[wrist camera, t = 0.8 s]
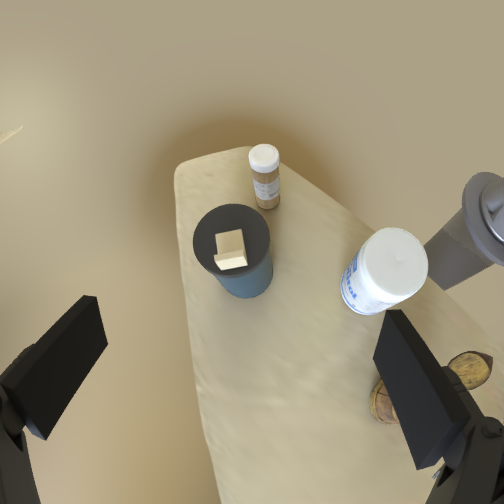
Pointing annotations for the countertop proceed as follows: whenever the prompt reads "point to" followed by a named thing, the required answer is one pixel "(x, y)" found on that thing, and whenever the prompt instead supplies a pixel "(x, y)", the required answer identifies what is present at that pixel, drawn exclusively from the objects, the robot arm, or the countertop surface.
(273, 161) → the sprinkles bottle
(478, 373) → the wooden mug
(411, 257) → the supplement tub
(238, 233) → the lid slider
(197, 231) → the tumbler
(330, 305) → the countertop surface
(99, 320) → the robot arm
